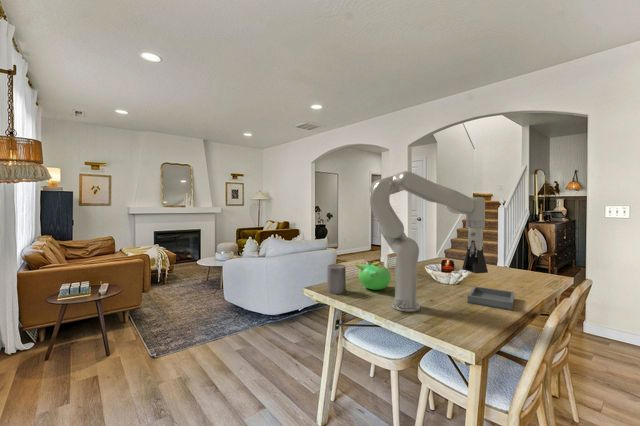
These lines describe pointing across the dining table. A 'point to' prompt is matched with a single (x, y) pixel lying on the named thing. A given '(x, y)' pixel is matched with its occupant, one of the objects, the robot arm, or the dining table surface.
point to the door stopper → (475, 268)
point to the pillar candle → (336, 279)
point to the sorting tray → (491, 298)
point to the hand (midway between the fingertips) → (474, 264)
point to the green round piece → (374, 276)
